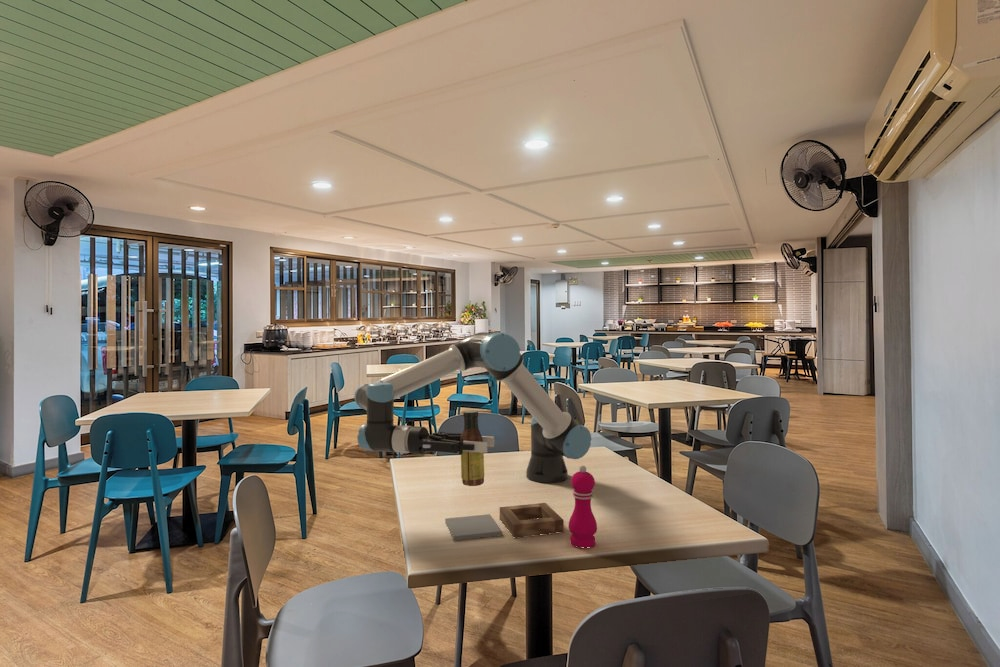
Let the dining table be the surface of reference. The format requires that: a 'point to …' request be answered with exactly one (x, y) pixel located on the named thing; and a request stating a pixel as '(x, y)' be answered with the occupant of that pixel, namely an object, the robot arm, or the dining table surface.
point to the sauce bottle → (471, 460)
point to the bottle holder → (525, 527)
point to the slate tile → (472, 527)
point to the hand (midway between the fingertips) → (490, 444)
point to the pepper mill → (582, 510)
